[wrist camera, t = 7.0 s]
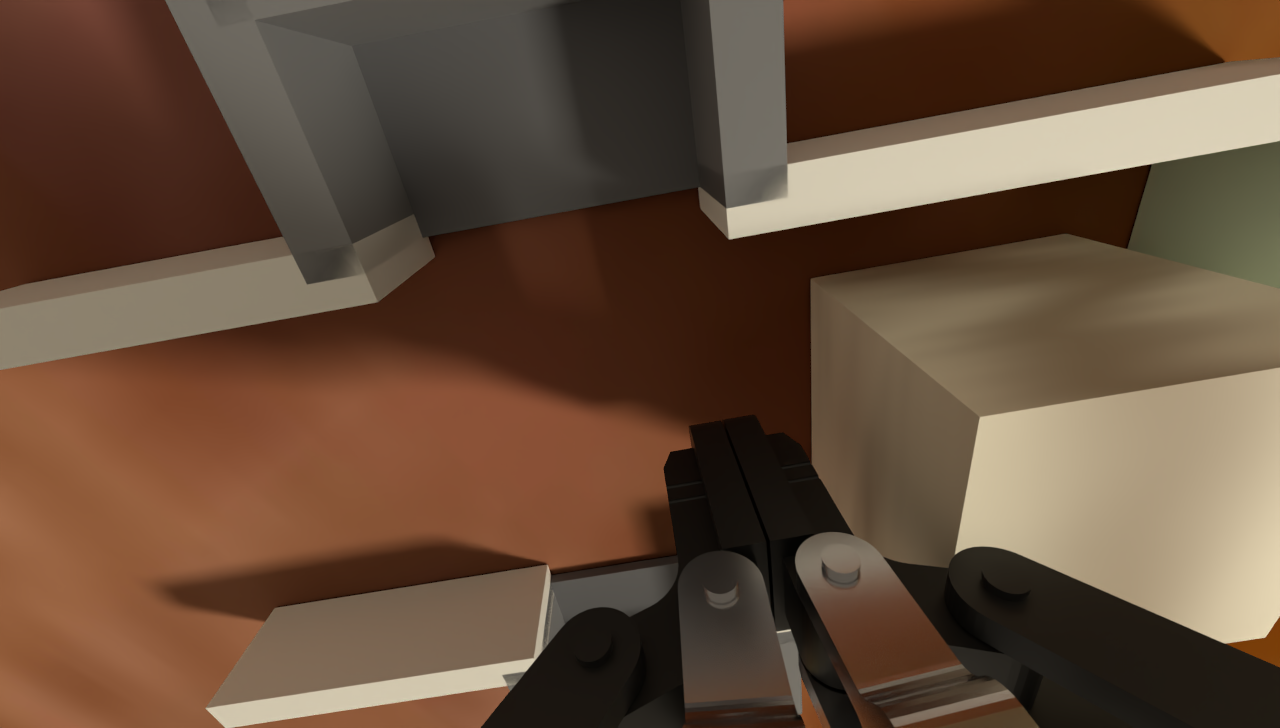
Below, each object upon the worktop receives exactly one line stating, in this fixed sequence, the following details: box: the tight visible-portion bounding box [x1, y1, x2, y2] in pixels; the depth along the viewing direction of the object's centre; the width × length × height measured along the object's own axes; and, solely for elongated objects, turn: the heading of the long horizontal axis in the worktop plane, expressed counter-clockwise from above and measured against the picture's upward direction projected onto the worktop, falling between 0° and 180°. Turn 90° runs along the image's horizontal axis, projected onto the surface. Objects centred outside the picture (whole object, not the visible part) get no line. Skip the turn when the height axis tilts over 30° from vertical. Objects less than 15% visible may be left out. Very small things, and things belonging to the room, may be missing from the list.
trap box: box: [0, 0, 1280, 728], centre depth 11 cm, size 26×20×4 cm
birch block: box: [811, 234, 1280, 644], centre depth 10 cm, size 6×6×6 cm
